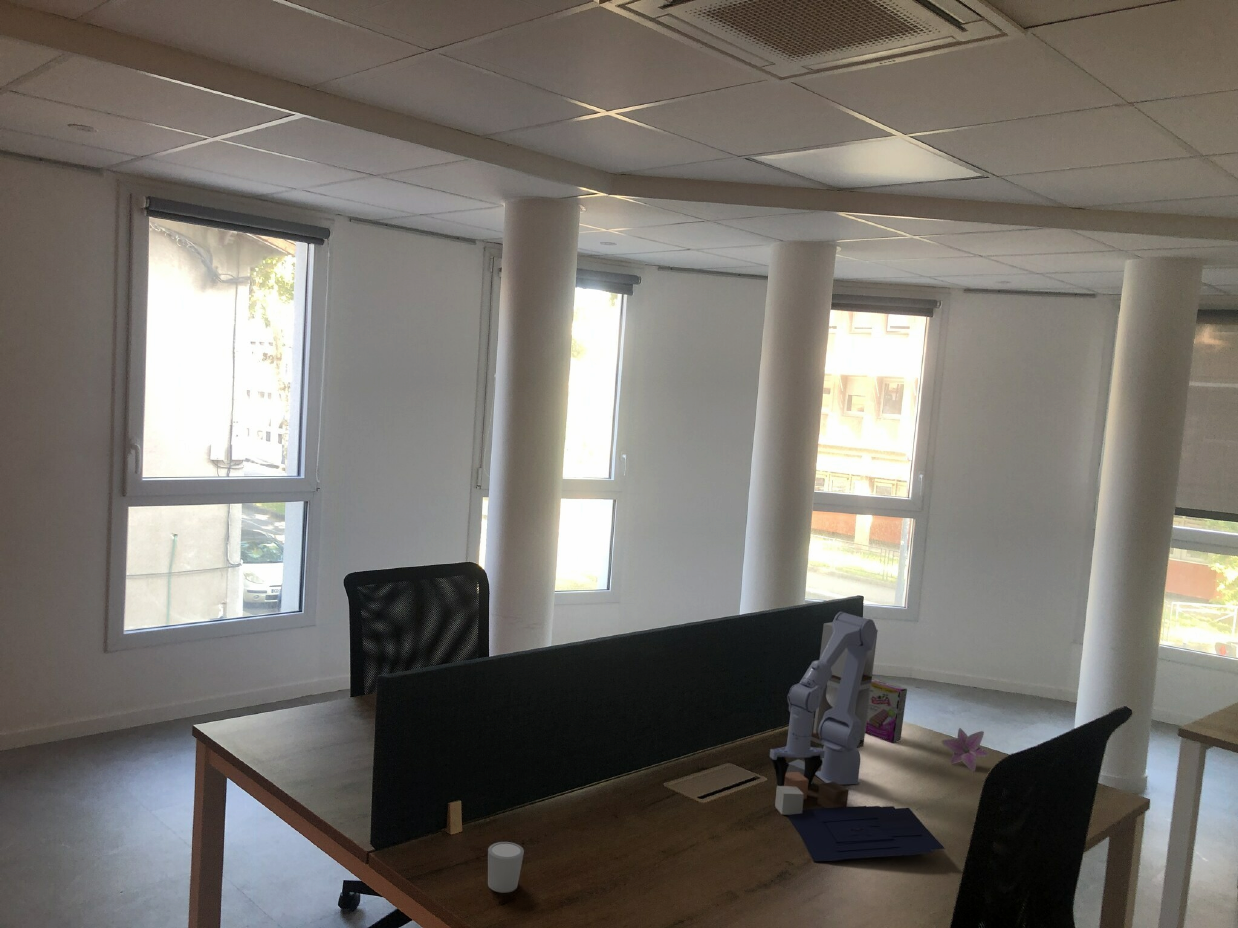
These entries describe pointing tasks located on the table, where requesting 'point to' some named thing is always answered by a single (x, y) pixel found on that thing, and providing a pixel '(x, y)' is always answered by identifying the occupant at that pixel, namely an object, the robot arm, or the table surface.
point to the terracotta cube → (797, 782)
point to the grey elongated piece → (833, 686)
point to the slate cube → (797, 767)
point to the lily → (966, 748)
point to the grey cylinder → (504, 866)
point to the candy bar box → (886, 710)
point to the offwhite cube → (789, 800)
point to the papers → (862, 832)
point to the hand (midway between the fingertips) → (793, 785)
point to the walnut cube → (832, 795)
